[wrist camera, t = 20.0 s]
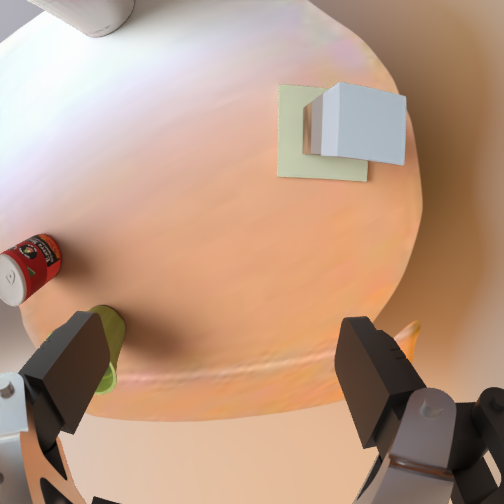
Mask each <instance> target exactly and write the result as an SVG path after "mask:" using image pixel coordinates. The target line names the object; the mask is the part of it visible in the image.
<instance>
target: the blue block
mask: <svg viewBox="0 0 504 504" xmlns="http://www.w3.org/2000/svg"><path fill="white" fill-rule="evenodd" d="M405 141H406V96H402V95H398V94H395V93H391V92H386V91H382V90H378V89H374V88H369V87H364V86H359V85H354V84H349V83H343V82H339V83H337V84H336V85H335V86H333V87H332V88H330V89H329V90H328V91H326V92H325V93H323V117H322V143H321V156H330V157H340V158H349V159H357V160H364V161H372V162H379V163H387V164H396V165H403V166H404V159H405Z"/></svg>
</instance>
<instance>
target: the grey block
mask: <svg viewBox="0 0 504 504" xmlns="http://www.w3.org/2000/svg"><path fill="white" fill-rule="evenodd" d="M324 93H325V92H324ZM322 117H323V93H322V94H321V95H320V96H318V97H317V98H316V99H314V100H313V101H312V129H311V154H319V155H321V143H322Z"/></svg>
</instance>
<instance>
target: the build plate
mask: <svg viewBox="0 0 504 504" xmlns="http://www.w3.org/2000/svg"><path fill="white" fill-rule="evenodd" d="M328 90H329V89H326V88H317V87H307V86H296V85H281V84H279V86H278V153H277V176H278V177H301V178H321V179H337V180H351V181H363V182H367V170H368V161H364V160H357V159H349V158H340V157H330V156H321V155H309V154H302V147H303V108H304V107H305V106H306V105H308V104H309V103H310V102H312V101H313V100H314V99H316V98H317V97H318V96H320V95H321V94H322V93H324V92H326V91H328Z"/></svg>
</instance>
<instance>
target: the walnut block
mask: <svg viewBox="0 0 504 504" xmlns="http://www.w3.org/2000/svg"><path fill="white" fill-rule="evenodd" d="M311 129H312V102H310V103H309V104H308V105H306V106H305V107H304V108H303V147H302V154H309V155H319V154H311Z"/></svg>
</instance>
